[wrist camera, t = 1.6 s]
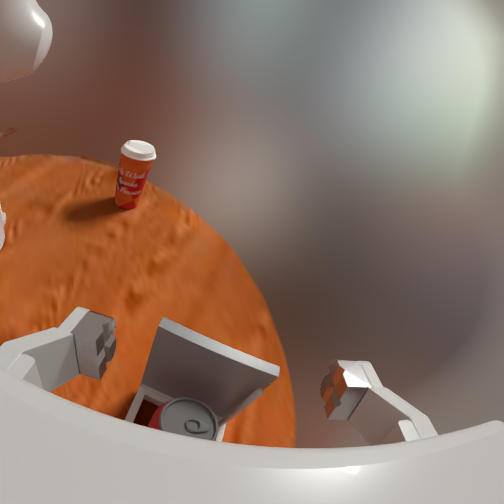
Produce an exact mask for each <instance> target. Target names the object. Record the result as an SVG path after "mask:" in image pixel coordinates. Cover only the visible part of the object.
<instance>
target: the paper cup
mask: <svg viewBox="0 0 504 504" xmlns="http://www.w3.org/2000/svg"><path fill="white" fill-rule="evenodd" d="M121 152H122V154H121V159H120V164H119V171H118V178H117V185H116V192H115V203H116V205H117V206H119V207H121V208H123V209H133V208H135V207H136V206H137V204H138V202H139V199H140V196H141V193H142V190H143V187H144V184H145V181H146V178H147V175H148V172H149V169H150V166H151V164H152V161H153V159H155V158H156V152H155V149H154V147H153V146H152V145H150V144H149V143H146V142H143V141H138V140H131V141H128V142H127V143H125V144H124V146H123V147H122V148H121Z"/></svg>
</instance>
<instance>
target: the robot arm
mask: <svg viewBox="0 0 504 504" xmlns="http://www.w3.org/2000/svg"><path fill="white" fill-rule="evenodd" d="M51 41H52V25H51V21H50V19H49V17H48V16H47V14H46V13H45V12H44V11H43V10H42V9H41V8H40V7H39V5H38V3H37V2H36V0H0V83H1V82H5V81H8V80H12V79H16V78H19V77H23V76H27V75H30V74H31V73H32V72H33V71H34V70H35V69H36V68H37V67H38V66H39V65H40V64H41V62H42V61H43V60H44V58H45V56H46V54H47V52H48V50H49V48H50V45H51ZM5 222H6V214H5V213H4V212H2V211H1V205H0V249H1V248H2V246H3V243H4V239H5V233H4V225H5ZM115 328H116V324H115V319H114V318H113V317H110V316H106V315H103V314H100V313H97V312H94V311H91V310H88V309H85V308H82V307H77V308H76V309H75V310H74V311H73V312H72V313H71V314H70V315H69V316H68V317H67V319H66V320H65V321H64V322H63V323H62V324H61V325H60V326H59V327H58V328H55V327H54V328H51V329H47V330H44V331H41V332H37V333H34V334H31V335H27V336H24V337H21V338H17V339H14V340H11V341H7V342H4V343H3V344H2V345H1V346H0V504H504V423H503V422H500V421H497V420H495V421H490V422H487V423H484V424H481V425H477V426H474V427H471V428H467V429H463V430H459V431H456V432H451V433H447V434H443V435H438V434H437V433H436V431H435V429H434V427H433V425H432V424H431V422H430V420H429V418H428V417H427V416H426V415H424V414H423V413H421V412H420V411H419V410H417V409H416V408H414V407H413V406H411V405H410V404H409V403H407V402H406V401H404V400H403V399H402V398H400V397H399V396H397V395H396V394H394V393H393V392H391V391H390V390H389V389H387V388H383V386H382V384H381V382H380V380H379V378H378V376H377V374H376V372H375V371H374V369H373V367H372V365H371V363H369V362H368V361H367V362H366V361H344V360H333V361H332V362H331V364H330V366H329V369H330V373H328V374H327V375H325V376H324V378H323V380H322V383H321V389H320V390H321V397H322V399H323V400H324V401H325V402H326V405H325V407H324V408H325V411H326V415H327V418H328V420H329V419H331V420H348V422H349V423H350V424H351V426H353V428H355V430H357V432H358V433H359V434H360V435H361V436H362V437H363V438H364V439H365V440H366V441H367V442H368V443H369V444H370V446H363V447H349V448H321V449H320V448H315V449H314V448H307V449H306V448H279V447H263V446H252V445H242V444H233V443H226V442H219V441H212V440H206V439H200V438H194V437H189V436H184V435H179V434H175V433H170V432H166V431H161V430H157V429H153V428H149V427H146V426H142V425H138V424H135V423H131V422H128V421H125V420H121V419H118V418H115V417H112V416H109V415H106V414H103V413H100V412H97V411H94V410H92V409H89V408H86V407H84V406H81V405H78V404H76V403H73V402H71V401H69V400H66V399H64V398H61V397H59V396H57V395H55V394H52V393H50V391H52V390H54V389H55V388H57V387H59V386H61V385H62V384H64V383H66V382H68V381H69V380H71V379H73V378H75V377H76V376H78V375H79V374H82V375H85V376H88V377H91V378H95V379H98V380H101V378H102V376H103V374H104V372H105V370H106V363H107V362H109V361H111V359H112V357H113V355H114V352H115V348H116V337H115V335H114V334H113V331H114V330H115Z"/></svg>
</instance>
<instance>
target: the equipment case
mask: <svg viewBox="0 0 504 504" xmlns="http://www.w3.org/2000/svg"><path fill="white" fill-rule="evenodd" d="M279 369H280V367H279V366H276V365H274V364H271V363H268V362H266V361H263V360H261V359H258V358H255V357H253V356H250V355H248V354H245V353H243V352H241V351H238V350H236V349H233V348H231V347H229V346H226V345H224V344H222V343H219V342H217V341H215V340H212V339H210V338H208V337H206V336H203V335H201V334H199V333H197V332H194V331H192V330H190V329H188V328H186V327H184V326H182V325H179V324H177V323H175V322H173V321H171V320H169V319H167V318H165V317H163V319H162V320H161V322H160V324H159V326H158V329H157V332H156V336H155V339H154V342H153V345H152V348H151V352H150V355H149V358H148V361H147V365H146V368H145V372H144V375H143V378H142V382H141V385H140V387H139V389H138V392H137V394H136V396H135V398H134V400H133V402H132V405H131V407H130V409H129V411H128V414H127V416H126V418H125V421H128V422H131V423H133V422H134V420H135V417H136V415H137V413H138V410H139V408H140V406H141V404H142V401H143V399H144V400H146V401H149V402H151V403H153V404H155V405H157V406H160V405H162V404H164V403H166V402H168V401H170V400H173V399H175V398H180V397H190V398H195V399H197V400H200V401H202V402H204V403H205V404H206V405H207V406H209V407H210V408H211V410H212V411H213V412H214V413H215V415H216V418H217V420H218V427H219V431H218V435H217V438H216V441H219V442H222V438H223V434H224V430H225V426H226V423H227V422H228V421H229V420H231V419H232V418H233V417H234V416H236V415H237V414H238V413H239V412H241V411H242V410H243V409H245V408H246V407H247V406H248V405H249V404H251V403H252V402H253V401H254V400H256V399H257V398H258V397H259V396H260V395H262V394H263V390H264V389H265V388H266V387H268V386H269V385H270V384H271V383H272V382H273V381H274V380H275V379H277V378H278V377H279Z"/></svg>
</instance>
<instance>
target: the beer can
mask: <svg viewBox="0 0 504 504" xmlns="http://www.w3.org/2000/svg"><path fill="white" fill-rule="evenodd" d="M147 427H149V428H153V429H157V430H161V431H166V432H170V433H175V434H179V435H184V436H189V437H194V438H200V439H206V440H212V441H216V438H217V435H218V431H219V427H218V420H217V418H216V415H215V413H214V412H213V411H212V410H211V408H210V407H209V406H207V405H206V404H205V403H204V402H202V401H200V400H197V399H195V398H190V397H180V398H175V399H173V400H170V401H168V402H166V403H164V404H162V405H160V407H159V408H158V409H157V410H156V411H155V412H154V414H153V416H152V418H151V420H150V422H149V424H148V426H147Z"/></svg>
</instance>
